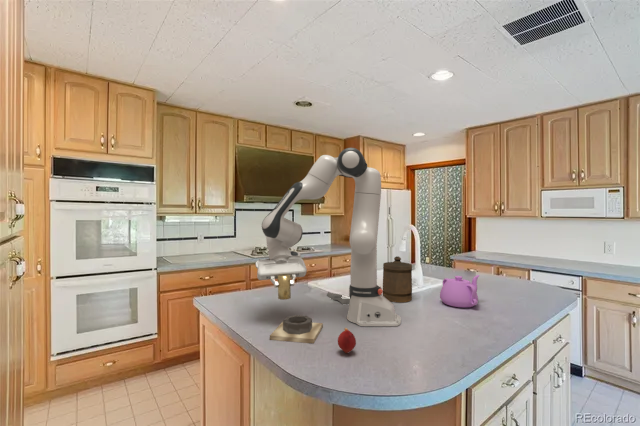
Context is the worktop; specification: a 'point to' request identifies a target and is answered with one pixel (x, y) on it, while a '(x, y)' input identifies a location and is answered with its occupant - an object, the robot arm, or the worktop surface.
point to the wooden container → (397, 281)
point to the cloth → (338, 298)
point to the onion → (346, 341)
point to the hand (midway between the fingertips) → (284, 286)
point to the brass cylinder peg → (284, 287)
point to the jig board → (297, 330)
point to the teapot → (459, 292)
